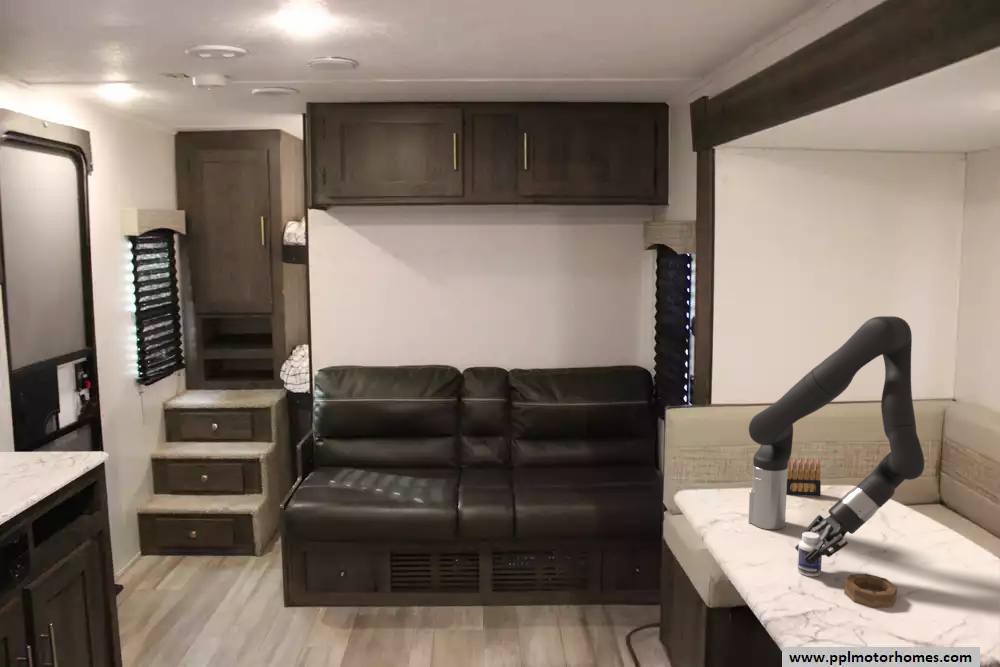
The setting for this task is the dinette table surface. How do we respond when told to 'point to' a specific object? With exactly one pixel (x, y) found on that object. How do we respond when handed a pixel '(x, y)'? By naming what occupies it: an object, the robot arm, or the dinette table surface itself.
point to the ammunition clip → (804, 478)
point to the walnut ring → (858, 594)
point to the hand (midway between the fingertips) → (802, 556)
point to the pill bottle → (805, 547)
